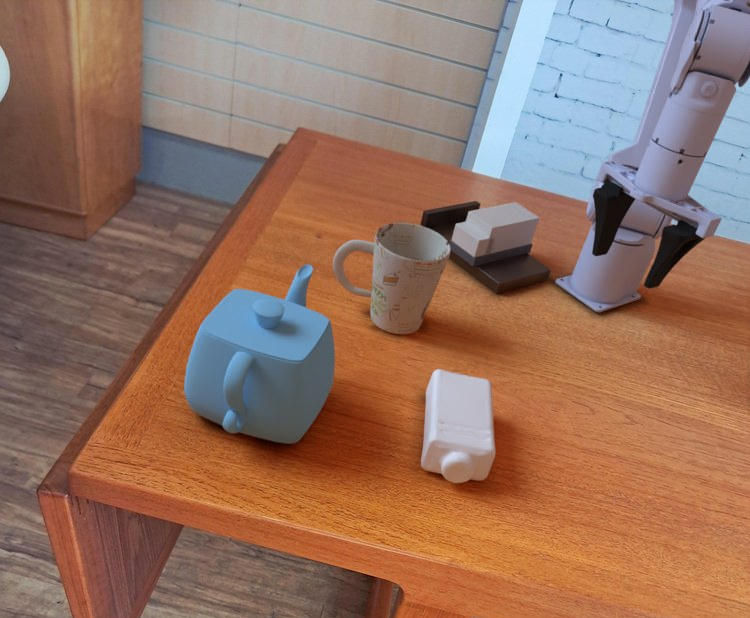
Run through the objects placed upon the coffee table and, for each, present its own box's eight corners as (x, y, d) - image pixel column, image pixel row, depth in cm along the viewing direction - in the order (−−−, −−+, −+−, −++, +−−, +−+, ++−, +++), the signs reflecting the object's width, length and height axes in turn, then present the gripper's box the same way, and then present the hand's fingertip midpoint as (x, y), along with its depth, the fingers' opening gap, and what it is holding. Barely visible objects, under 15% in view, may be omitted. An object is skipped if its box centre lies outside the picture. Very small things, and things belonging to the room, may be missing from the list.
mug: (424, 348, 88) (445, 268, 81) (317, 319, 89) (329, 237, 82) (434, 311, 94) (455, 234, 87) (334, 284, 95) (347, 205, 88)
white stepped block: (505, 235, 109) (515, 200, 106) (530, 252, 107) (542, 218, 103) (447, 248, 103) (457, 212, 100) (472, 267, 101) (483, 230, 97)
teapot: (351, 371, 83) (370, 275, 75) (290, 477, 70) (305, 374, 62) (242, 335, 84) (249, 236, 76) (162, 433, 71) (161, 326, 63)
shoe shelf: (469, 223, 113) (475, 200, 111) (547, 279, 105) (556, 255, 103) (417, 234, 108) (423, 210, 105) (496, 294, 100) (504, 269, 98)
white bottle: (417, 483, 73) (428, 449, 70) (423, 398, 82) (433, 366, 79) (485, 496, 73) (498, 463, 70) (483, 411, 82) (495, 378, 79)
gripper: (600, 120, 80) (555, 244, 89) (717, 178, 73) (655, 307, 82) (640, 118, 84) (593, 237, 93) (755, 173, 77) (691, 296, 86)
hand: (624, 269), depth 88 cm, fingers open, 7 cm apart
